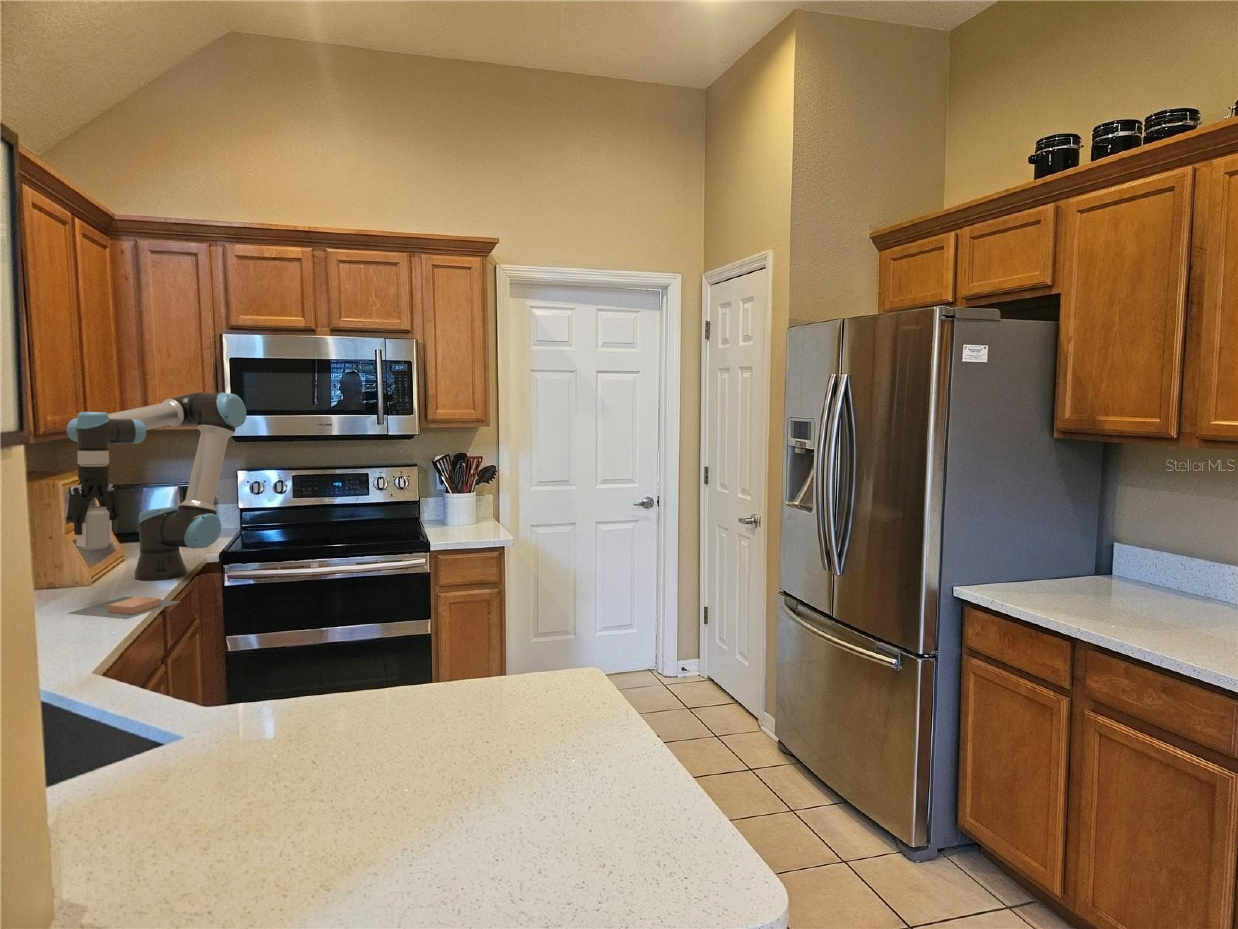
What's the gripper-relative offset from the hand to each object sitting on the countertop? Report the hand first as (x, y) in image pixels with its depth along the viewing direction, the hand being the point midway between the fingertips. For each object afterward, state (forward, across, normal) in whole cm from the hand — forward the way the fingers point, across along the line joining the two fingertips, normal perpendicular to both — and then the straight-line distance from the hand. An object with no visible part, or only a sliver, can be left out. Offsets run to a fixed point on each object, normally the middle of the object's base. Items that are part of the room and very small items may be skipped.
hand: (94, 543), depth 224 cm
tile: (+16, -4, +16) cm, 23 cm away
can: (+1, 0, 0) cm, 1 cm away
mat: (+18, 0, +12) cm, 22 cm away
